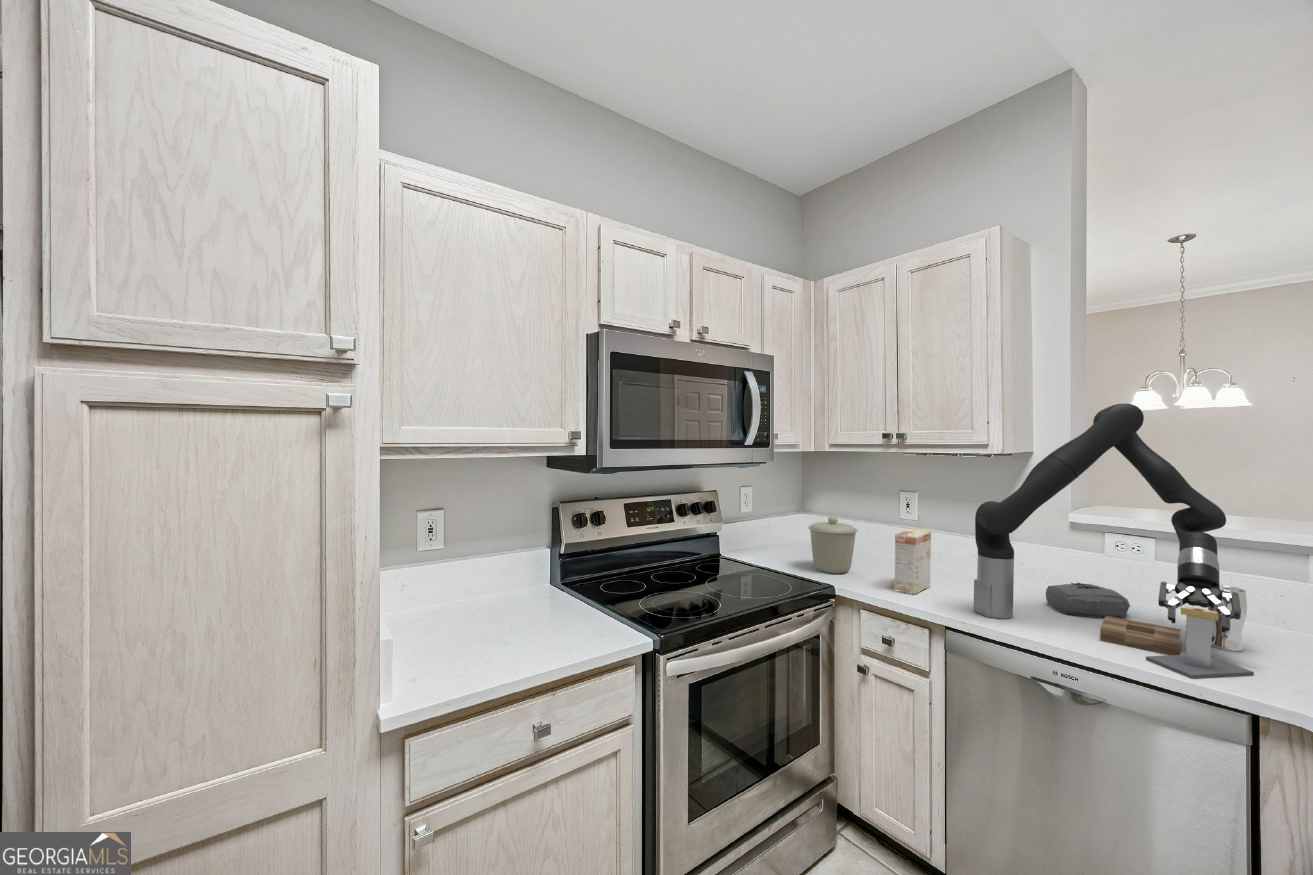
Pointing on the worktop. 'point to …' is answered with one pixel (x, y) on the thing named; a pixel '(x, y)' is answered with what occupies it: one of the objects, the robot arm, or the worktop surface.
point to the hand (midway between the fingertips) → (1198, 626)
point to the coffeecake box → (912, 560)
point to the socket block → (1141, 635)
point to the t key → (1198, 635)
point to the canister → (832, 545)
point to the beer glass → (1233, 636)
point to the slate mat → (1191, 671)
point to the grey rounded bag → (1086, 600)
